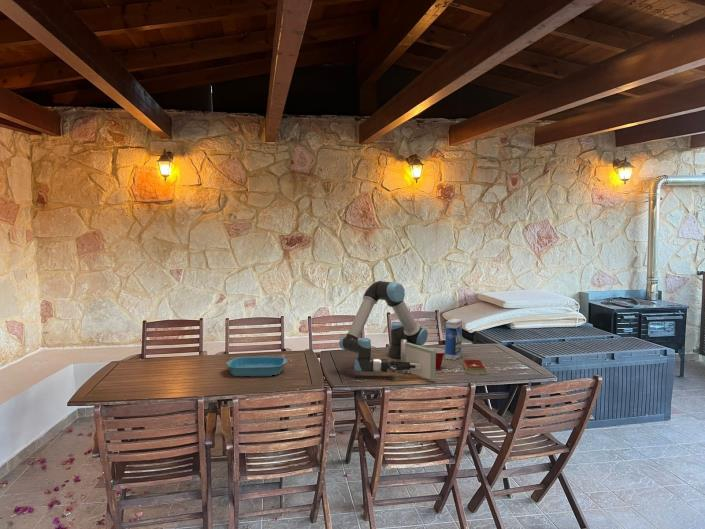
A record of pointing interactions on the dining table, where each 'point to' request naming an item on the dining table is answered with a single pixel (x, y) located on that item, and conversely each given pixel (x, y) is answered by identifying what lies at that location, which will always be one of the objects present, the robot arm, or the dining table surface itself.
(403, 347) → the post
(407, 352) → the beige panel
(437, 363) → the plastic cup
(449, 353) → the string lights box
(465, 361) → the hardcover book
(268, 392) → the dining table surface
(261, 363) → the casserole dish
